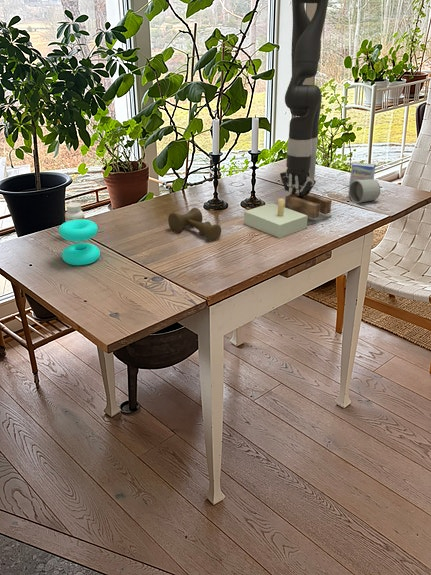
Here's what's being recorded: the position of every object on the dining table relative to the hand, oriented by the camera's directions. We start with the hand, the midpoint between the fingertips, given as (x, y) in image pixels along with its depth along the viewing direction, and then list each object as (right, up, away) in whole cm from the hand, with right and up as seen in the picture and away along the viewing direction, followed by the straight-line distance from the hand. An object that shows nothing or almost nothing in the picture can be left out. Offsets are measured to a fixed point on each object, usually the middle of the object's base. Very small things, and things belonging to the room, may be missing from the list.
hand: (295, 205), depth 189 cm
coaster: (+3, -4, -2) cm, 5 cm away
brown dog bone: (-32, -10, -13) cm, 36 cm away
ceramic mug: (+24, +3, +12) cm, 27 cm away
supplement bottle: (-66, -12, -17) cm, 69 cm away
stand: (-8, -7, -9) cm, 14 cm away
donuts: (-62, -19, -31) cm, 72 cm away
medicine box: (+27, +10, +24) cm, 38 cm away
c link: (+3, -2, -3) cm, 5 cm away
